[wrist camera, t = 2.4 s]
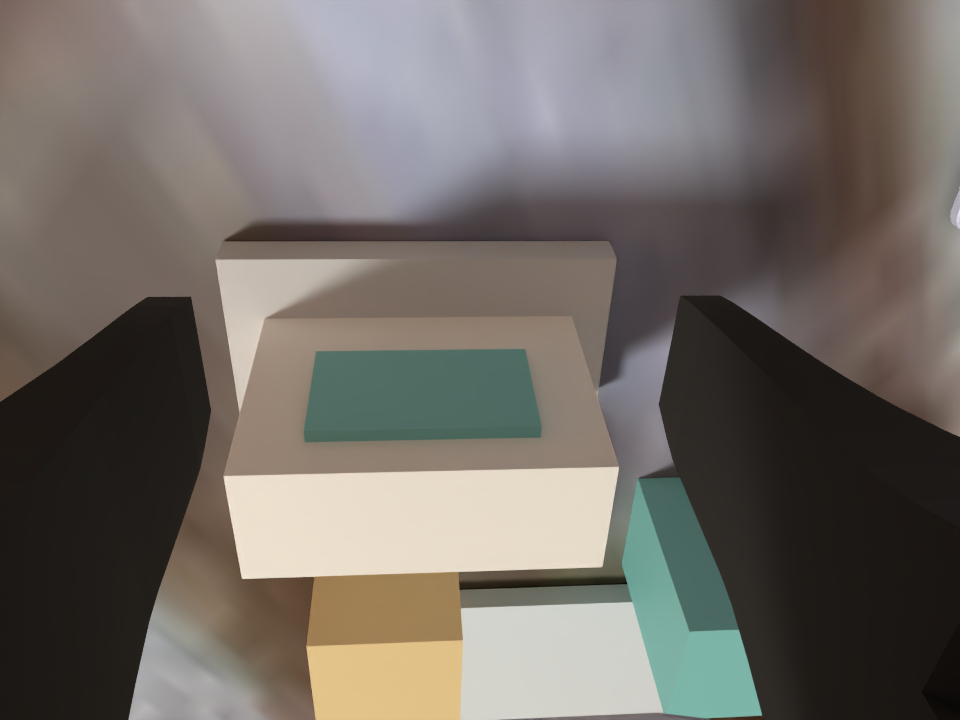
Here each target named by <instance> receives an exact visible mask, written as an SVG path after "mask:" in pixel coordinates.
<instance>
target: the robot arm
mask: <svg viewBox="0 0 960 720" xmlns="http://www.w3.org/2000/svg"><path fill="white" fill-rule="evenodd" d="M950 219H951V222H952V223H953V224H954V225H955V226H956V227H957V228H959V229H960V188H959V191H958V194H957V196H956V199H955V202H954V204H953V207H952V210H951V215H950ZM659 407H660V411H661V416H662V420H663V424H664V428H665V433H666V437H667V440H668V444H669V448H670V452H671V455H672V459H673V462H674V464H675V467H676V469H677V472H678V474H679V477H680V479H681V481H682V484H683V486H684V489H685V491H686V494H687V496H688V499H689V501H690V503H691V506H692V508H693V510H694V513H695V515H696V518H697V520H698V522H699V525H700V527H701V529H702V532H703V534H704V536H705V539H706V541H707V544H708V546H709V548H710V551H711V553H712V555H713V558H714V560H715V563H716V565H717V567H718V570H719V572H720V574H721V577H722V580H723V582H724V585H725V588H726V591H727V593H728V596H729V599H730V602H731V605H732V608H733V612H734V615H735V618H736V622H737V625H738V629H739V632H740V636H741V639H742V642H743V646H744V649H745V653H746V656H747V660H748V663H749V667H750V671H751V675H752V679H753V682H754V686H755V690H756V694H757V697H758V701H759V705H760V709H761V713H762V716H763V720H960V437H958V436H956V435H954V434H952V433H949V432H947V431H945V430H943V429H941V428H939V427H937V426H935V425H933V424H931V423H929V422H927V421H925V420H923V419H921V418H918V417H916V416H914V415H912V414H910V413H908V412H906V411H904V410H902V409H900V408H898V407H897V406H895V405H893V404H891V403H889V402H887V401H885V400H884V399H882V398H880V397H878V396H876V395H875V394H873V393H871V392H870V391H868V390H866V389H865V388H863V387H861V386H860V385H858V384H856V383H854V382H853V381H851V380H849V379H848V378H846V377H844V376H843V375H841V374H839V373H838V372H836V371H835V370H833V369H832V368H830V367H828V366H827V365H825V364H824V363H822V362H821V361H819V360H818V359H816V358H814V357H813V356H811V355H810V354H808V353H807V352H805V351H804V350H802V349H801V348H799V347H798V346H796V345H795V344H794V343H792V342H791V341H789V340H788V339H786V338H785V337H783V336H782V335H780V334H779V333H777V332H776V331H775V330H773V329H772V328H770V327H769V326H767V325H766V324H764V323H763V322H761V321H760V320H758V319H757V318H756V317H754V316H753V315H751V314H750V313H748V312H747V311H745V310H744V309H742V308H740V307H739V306H737V305H736V304H734V303H732V302H731V301H729V300H727V299H725V298H724V297H722V296H680V301H679V306H678V311H677V316H676V321H675V326H674V331H673V336H672V341H671V346H670V351H669V356H668V361H667V366H666V371H665V376H664V381H663V387H662V392H661V397H660V402H659ZM210 413H211V408H210V402H209V396H208V391H207V385H206V379H205V374H204V368H203V362H202V357H201V351H200V345H199V340H198V334H197V328H196V323H195V317H194V311H193V306H192V300H191V297H147V298H145V299H144V300H142V301H141V302H139V303H138V304H136V305H135V306H133V307H132V308H131V309H129V310H128V311H126V312H125V313H124V314H122V315H121V316H120V317H118V318H117V319H116V320H115V321H113V322H112V323H111V324H109V325H108V326H107V327H105V328H104V329H103V330H101V331H100V332H99V333H98V334H96V335H95V336H94V337H92V338H91V339H90V340H88V341H87V342H86V343H84V344H83V345H82V346H80V347H79V348H78V349H76V350H75V351H73V352H72V353H71V354H69V355H68V356H67V357H65V358H64V359H63V360H61V361H60V362H59V363H57V364H56V365H55V366H53V367H52V368H50V369H49V370H47V371H46V372H44V373H43V374H41V375H40V376H38V377H37V378H35V379H34V380H32V381H31V382H29V383H28V384H26V385H25V386H23V387H22V388H20V389H19V390H17V391H16V392H14V393H13V394H12V395H10V396H9V397H7V398H6V399H4V400H3V401H1V402H0V720H128V718H129V713H130V708H131V703H132V698H133V693H134V688H135V683H136V679H137V674H138V670H139V665H140V661H141V656H142V652H143V647H144V643H145V638H146V634H147V629H148V625H149V621H150V617H151V614H152V610H153V607H154V603H155V600H156V597H157V593H158V590H159V587H160V585H161V582H162V579H163V576H164V573H165V570H166V567H167V564H168V561H169V559H170V556H171V553H172V550H173V547H174V544H175V541H176V538H177V536H178V533H179V530H180V527H181V524H182V521H183V518H184V515H185V512H186V510H187V507H188V504H189V501H190V498H191V495H192V492H193V489H194V486H195V483H196V480H197V477H198V474H199V471H200V467H201V462H202V457H203V452H204V447H205V442H206V437H207V431H208V425H209V419H210ZM501 720H711V719H706V718H698V717H690V716H682V715H674V714H665V713H638V714H615V715H592V716H570V717H547V718H524V719H501Z"/></svg>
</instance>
